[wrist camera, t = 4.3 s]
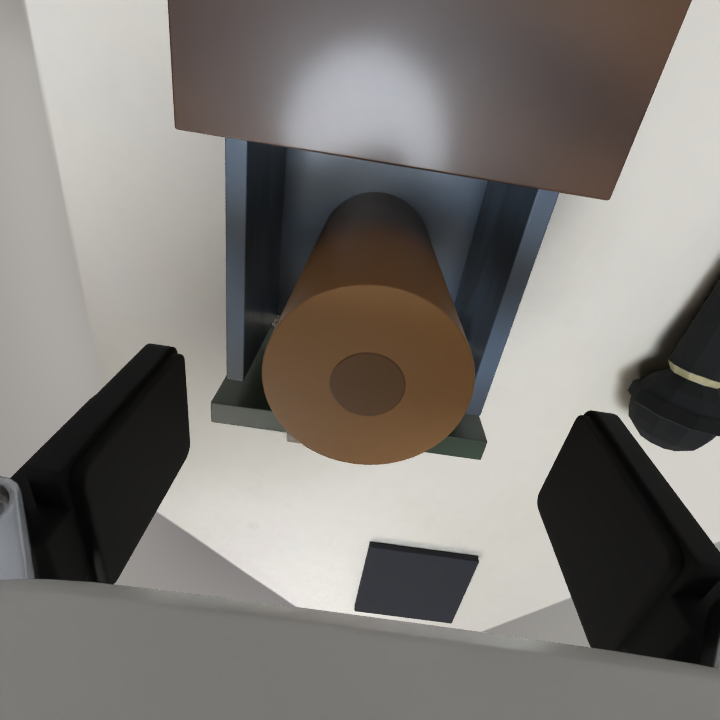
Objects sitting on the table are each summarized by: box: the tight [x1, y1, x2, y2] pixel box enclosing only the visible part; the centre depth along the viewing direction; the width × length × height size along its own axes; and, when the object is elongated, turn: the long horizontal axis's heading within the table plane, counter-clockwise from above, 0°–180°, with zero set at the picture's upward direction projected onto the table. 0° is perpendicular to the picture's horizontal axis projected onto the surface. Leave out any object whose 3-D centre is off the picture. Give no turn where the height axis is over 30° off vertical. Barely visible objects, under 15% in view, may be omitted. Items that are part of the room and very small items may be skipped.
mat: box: [355, 542, 479, 623], centre depth 42 cm, size 10×10×1 cm
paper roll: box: [262, 192, 475, 465], centre depth 18 cm, size 6×6×14 cm
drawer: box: [211, 137, 559, 460], centre depth 22 cm, size 21×13×9 cm, turn 172°
